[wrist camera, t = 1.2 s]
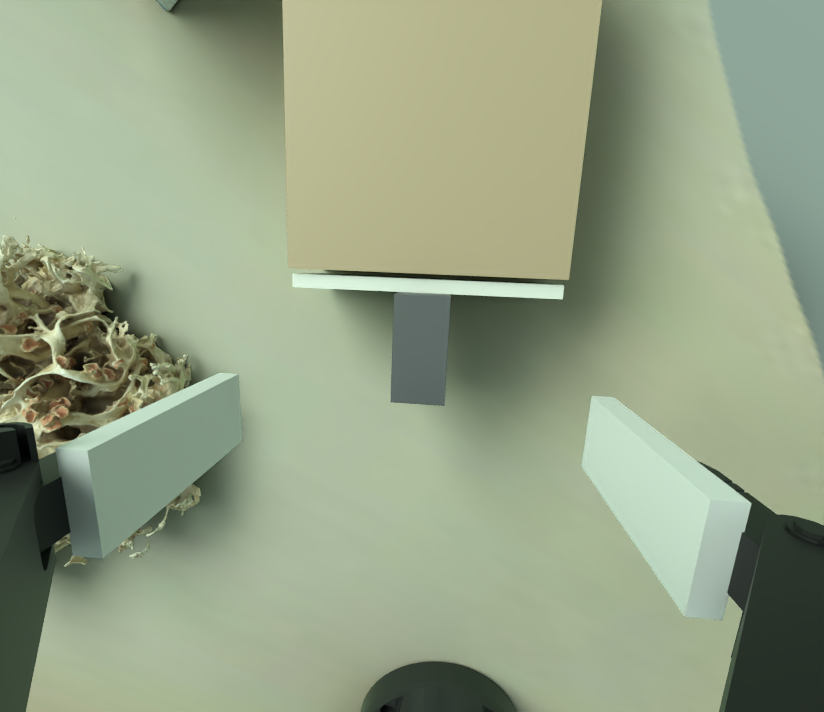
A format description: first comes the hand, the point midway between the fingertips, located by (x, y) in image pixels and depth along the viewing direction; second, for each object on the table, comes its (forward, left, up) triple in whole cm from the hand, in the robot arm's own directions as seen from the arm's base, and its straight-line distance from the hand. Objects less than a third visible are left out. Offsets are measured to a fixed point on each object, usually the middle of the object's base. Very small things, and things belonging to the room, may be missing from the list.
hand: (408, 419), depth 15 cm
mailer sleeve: (+15, 0, -16) cm, 22 cm away
